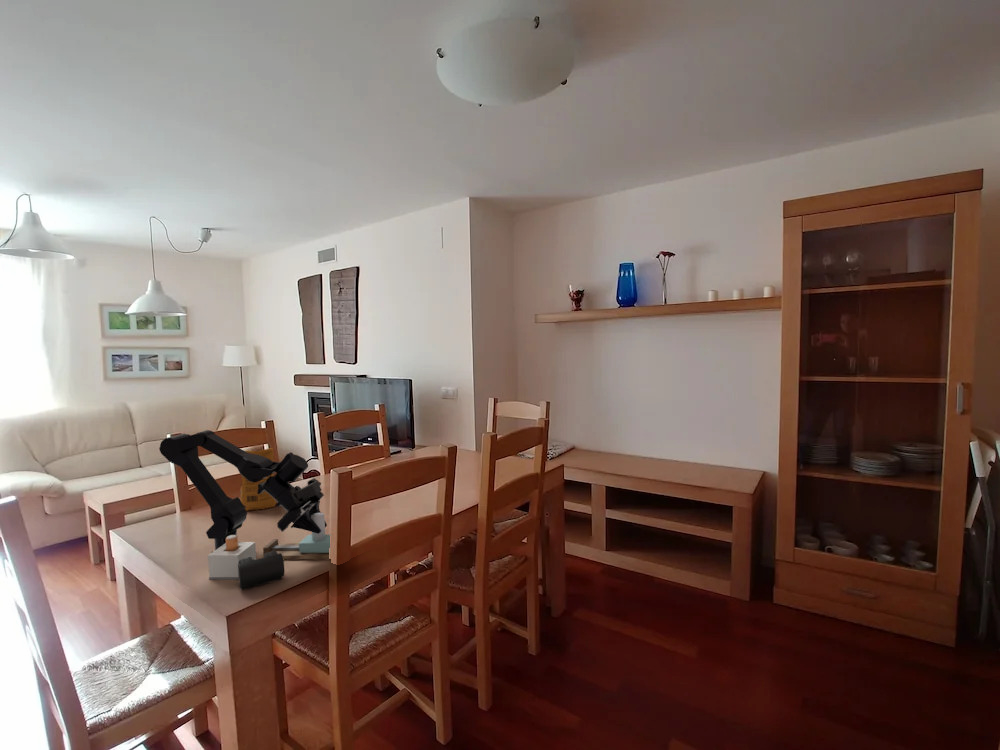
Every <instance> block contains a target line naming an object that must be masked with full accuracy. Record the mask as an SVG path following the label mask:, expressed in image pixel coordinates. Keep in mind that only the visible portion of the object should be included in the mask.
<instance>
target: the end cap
mask: <svg viewBox="0 0 1000 750" xmlns="http://www.w3.org/2000/svg"><path fill="white" fill-rule="evenodd" d="M264 556H265V557H264ZM284 562H285V561H284V560H283V556H282V554H281V553H280V554H278V553H277V552H276V551H272V552H269V553H265V554H264V555H263V557H262V558H258V559H257V558H256V560H253V559H252V557H249V558H245V559H241V560H240V561H239V564H238V573H239V574H238V575H239V580H238V588H239V589H240V590H242V591H243V590H244V591H245V590H248V589H251V588H254V587H258V586H261V585H264V584H268V583H271V582H275V581H276V582H277V581H279V580H281V579H282V578H283V577H284V576H285V563H284Z"/></svg>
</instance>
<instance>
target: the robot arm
mask: <svg viewBox="0 0 1000 750" xmlns="http://www.w3.org/2000/svg"><path fill="white" fill-rule="evenodd" d="M199 447H201V448H203V449H205V450H206V451H208V452H210V453H211V454H213V455H215V456H217V457H218V458H220V459H222V460H223V461H225V462H227V463H229V464H230V465H232V466H234V467H235V468H236V469H237V471H238V472H239V474H240V475H241V477H242V476H244V477H245V478H246V479H247V480H248V481H250V482H258V481H261V480H262V479H264V478H266V477H268V476H270V475H271V474H273V473H275V476H270V477H269V478H268V479H267V480H266V481H265V482H264V483H260V484H258V492H257V494H261V493H262V492H264V491H266V492H267V493H269V494H270V495H271V496H272V497H273V498H274V499H275V500H276V501H277V502H276V505H275V507H277V508H279V507H282V508H283V509H284V510H285V511H286V513H284V515H283V516H282V517H281V518H280V519H279V520H278V522H276V523H277V524H276V525H277V529H279V531H280V532H284V531H286V530H287V529H288V528H289V526H290V525H291V523H292V525H291V526H290V528H291V529H293V528H294V529H300V530H304V531H307V532H311V533H312V532H314V533H318V534H319V533H320V532H321V529H320V528H319V527H318V526H317V524H316V523H315V522H314V521H313V520H312V519H311V515H312V514H314V513H322V512H321V510H320V503H321V500H322V498H323V497H324V496H325V494H324V493H323V491H322V487H321V486H322V482H321V481H319V480H317V479H316V478H315V477H314V478H312V479H310V480H308V481H307V485H304V486H303V487H300V486H299V485H296V486H294V485H292V484H291V483H294V482H296V480H297V479H298V478H299V477H300V476H301V475H302V474H303V473H304V472H305V471H306V470H307V469H308V467H309V464H308V462H307V460H306V459H305V458H304V457H301V456H300V455H298V454H294V453H293V452H288V453H287V454H286V455H284V457H283V459H282V460H281V461H280V462H279V461H274V460H273V461H271V460H270V459H268V458H266V457H263V456H260V455H256V454H250V453H247V452H245V451H246V450H244V449H242V448H240V447H239V446H237V445H235V444H233V443H231V442H229V441H228V440H226V439H225V438H223V437H221V436H219V435H217V434H215V432H214V431H212V430H208V429H206V430H203V431H199V432H197V433H194V434H189V433H180V434H176V435H173V436H170V437H166V438H164V439H163V440H161V441H160V445H159V447H158V449H159V452H160V454H161V455H162V456H163V457H164V458H165V459H166V460H167V461H168V462H169V463H171V464H173V465H175V466H177V467H180V468H181V469H182V471H183V472H184V473H185V474H186V476H187V477H188V479H189V481H190V482H191V483H192V484H193V486H194V488H196V490H197V491H198V492H199V494H200V495H201V496H202V498H203V499H204V500H205V502H206V503H207V504H208V506H209V508H210V518H211V520H212V522H213V524H212V525H211V526H210V527H209V528H208V529H207V530H206V532H205V533H206V536H207V538H208V539H209V540H214V550H213V551H215V550H216V549H218V548H219V547H221V546H222V545H224V544H225V543H226V537H227V536H230V535H237V536H238V533H237V532H238V530H239V529H241V528H242V526H243V525H244V522H245V521H246V520H247V515H248V511H246V509H245V508H246V506H244V505H243V504H242V502H241V498H239V497H238V496H236V497H235V498H232V497H229V496H228V495H227V494H226V492H225V491H224V490H223V488H222V487H221V486H220V485H219V483H218V482H217V481H216V479H215V478H214V476H213V475H212V473H210V471H209V470H208V468H207V467H206V465H205V464H204V462H203V461H202V459H200V458H199V457H200V456H199ZM327 526H328V524H327V522H326V521H325V528H326V527H327ZM213 551H211V552H210V554H211V553H212V552H213Z"/></svg>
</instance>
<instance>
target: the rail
mask: <svg viewBox="0 0 1000 750" xmlns="http://www.w3.org/2000/svg"><path fill="white" fill-rule="evenodd" d="M299 543H300V542H299ZM299 543H296V542H295V543H288V542H287V543H284V542H283V543H279V538H274V539H272V540H271V541H270V542H268V543H267V544H266V545H265V546H263V547H262V551H263V552H262V553H263V558H264V557H265V556H264V554H265V553H269V552H272V551H276V552H277V553H278V554H280V553H281V554H282V556H283V559H325V560H328V561H329V553H299Z"/></svg>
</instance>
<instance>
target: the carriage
mask: <svg viewBox="0 0 1000 750" xmlns="http://www.w3.org/2000/svg"><path fill="white" fill-rule="evenodd" d="M325 518H326V517H325V513H324V512H321V513H314V514H312V515H311V519H312V520H313V521H314V522H315V523H316V524H317V526H318V527H319V528H320V529H321V532H320V533H319V534H318V533H314V532H311V534H307V535H306V536H304V538H302V540H301V541H300V542H299V553H329V548H330V535H331V534H326V527H325V522H326V520H325Z"/></svg>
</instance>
